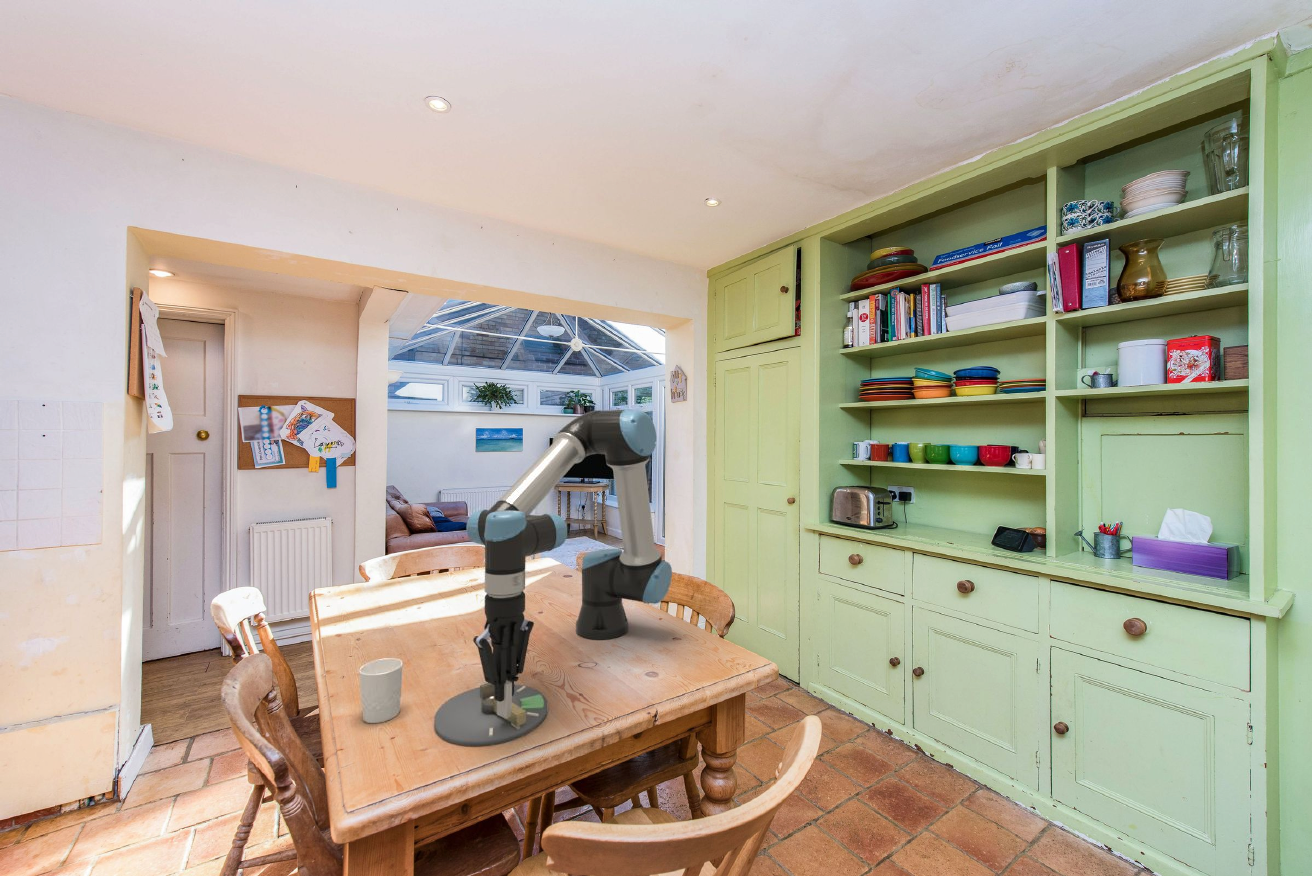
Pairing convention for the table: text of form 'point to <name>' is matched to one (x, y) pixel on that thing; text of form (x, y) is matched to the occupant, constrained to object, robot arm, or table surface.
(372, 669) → the white cup
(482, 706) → the needle
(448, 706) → the dial
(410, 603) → the table surface
